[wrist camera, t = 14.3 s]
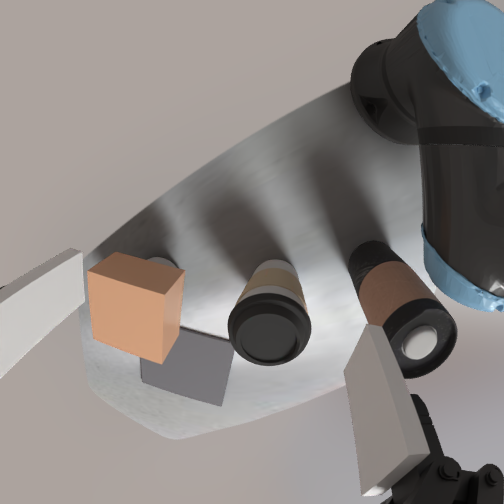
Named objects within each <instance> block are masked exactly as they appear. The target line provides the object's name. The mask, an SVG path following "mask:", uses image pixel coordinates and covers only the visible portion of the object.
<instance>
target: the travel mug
mask: <svg viewBox="0 0 504 504" xmlns="http://www.w3.org/2000/svg"><path fill="white" fill-rule="evenodd" d="M349 273H350V276H351V279H352V282H353V285H354V287H355V290H356V293H357V296H358V299H359V302H360V304H361V307H362V309H363V311H364V314H365V316H366V319H367V321H368V323H369V324H371V325H376V326H381V327H382V328H383V330H384V332H385V335H386V337H387V339H388V341H389V344H390V346H391V348H392V351H393V353H394V355H395V358H396V360H397V363H398V365H399V368H400V370H401V372H402V375H403V377H404V379H413V378H417V377H421V376H424V375H426V374H428V373H430V372H432V371H433V370H435V369H436V368H438V367H439V366H440V365H441V364H442V363H443V362H444V361H445V360H446V359H447V358H448V356H449V355H450V354H451V352H452V350H453V348H454V346H455V343H456V340H457V326H456V323H455V321H454V319H453V318H452V316H451V315H450V314H449V312H448V311H447V310H446V309H445V308H444V306H443V305H442V304H441V303H440V301H439V300H438V299H437V298H436V296H435V295H434V294H433V293H432V292H431V290H430V289H429V288H428V287H427V286H426V284H425V283H424V282H423V281H422V280H421V279H420V277H419V276H418V275H417V274H416V273H415V272H414V271H413V270H412V268H411V267H410V266H408V265H407V264H406V263H405V262H404V261H403V260H402V259H401V258H400V257H399V256H398V255H397V254H396V253H395V252H394V251H393V250H391V249H390V248H389V247H388V246H387V245H385V244H383V243H381V242H377V241H371V242H366V243H364V244H362V245H360V246H359V247H358V248H357V249H356V250H355V251H354V252H353V254H352V255H351V258H350V261H349Z"/></svg>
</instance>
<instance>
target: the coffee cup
mask: <svg viewBox="0 0 504 504" xmlns="http://www.w3.org/2000/svg"><path fill="white" fill-rule="evenodd" d="M228 333H229V339H230V342H231V344H232V346H233V348H234V349H235V351H236V352H237V353H238V354H239V355H240V356H241V357H243V358H244V359H246V360H247V361H249V362H252V363H254V364H258V365H263V366H275V365H280V364H284V363H287V362H289V361H291V360H293V359H294V358H296V357H297V356H298V355H299V354H300V353H301V352H302V351H303V350H304V348H305V347H306V345H307V343H308V341H309V338H310V335H311V321H310V318H309V316H308V311H307V307H306V303H305V299H304V295H303V291H302V287H301V284H300V282H299V278H298V274H297V272H296V270H295V269H294V267H293V266H292V265H290V264H289V263H287V262H285V261H283V260H277V259H273V260H268V261H265V262H263V263H262V264H260V265H259V266H258V267H257V268H256V270H255V271H254V273H253V275H252V277H251V278H250V280H249V281H248V283H247V285H246V286H245V288H244V290H243V292H242V294H241V295H240V297H239V299H238V301H237V303H236V305H235V307H234V308H233V310H232V311H231V313H230V316H229V319H228Z"/></svg>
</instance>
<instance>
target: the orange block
mask: <svg viewBox="0 0 504 504" xmlns="http://www.w3.org/2000/svg"><path fill="white" fill-rule="evenodd" d="M87 273H88V290H89V303H90V313H91V323H92V331H93V339H95V340H97V341H100V342H102V343H105V344H107V345H110V346H112V347H115V348H117V349H120V350H122V351H125V352H128V353H130V354H133V355H136V356H139V357H141V358H144V359H147V360H150V361H153V362H156V363H159V364H163V362H164V360H165V358H166V356H167V355H168V353H169V351H170V349H171V348H172V346H173V344H174V343H175V341H176V339H177V337H178V336H179V328H180V317H181V306H182V296H183V286H184V277H185V270H182V269H178V268H175V267H171V266H167V265H163V264H159V263H156V262H152V261H148V260H144V259H141V258H137V257H133V256H130V255H126V254H123V253H119V252H114V253H113V254H111V255H110V256H108V257H107V258H105V259H104V260H102V261H101V262H99V263H98V264H96V265H95V266H94V267H92V268H91V269H89V270H88V271H87Z"/></svg>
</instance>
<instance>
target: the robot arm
mask: <svg viewBox="0 0 504 504" xmlns="http://www.w3.org/2000/svg"><path fill="white" fill-rule="evenodd" d="M350 83H351V93H352V97H353V100H354V103H355V105H356V108H357V110H358V111H359V113H360V115H361V116H362V118H363V119H364V120H365V122H366V123H367V124H368V125H369V126H370V127H371V128H372V129H373V130H374V131H375V132H376V133H378V134H379V135H381V136H382V137H384V138H386V139H387V140H390V141H392V142H395V143H398V144H403V145H419V151H420V162H421V177H422V200H423V222H422V225H421V233H422V237H423V241H424V265H425V269H426V271H427V273H428V274H429V276H430V278H431V280H432V282H433V283H434V284H435V285H436V286H437V287H438V288H439V289H440V290H441V291H442V292H443V293H444V294H446V295H447V296H449V297H450V298H451V299H453V300H455V301H457V302H458V303H460V304H463V305H465V306H467V307H470V308H474V309H476V310H480V311H487V312H493V311H494V310H495V309H497V310H498V311H500V312H504V13H503V12H502V11H501V10H500V9H498V8H497V7H496V6H494V5H492V4H491V3H489V2H487V1H485V0H435V1H434V2H433V3H431V4H428V5H426V6H424V7H423V8H422V10H420V12H419V13H418V14H417V15H416V16H415V17H414V18H413V20H411V22H410V23H409V24H408V25H407V26H406V27H405V28H404V29H403V30H402V31H401V32H400V33H399V34H398V36H397V37H396V38H394V39H385V40H381V41H378V42H376V43H374V44H372V45H370V46H369V47H368V48H366V49H365V50H364V51H363V52H362V53H361V55H360V56H359V57H358V59H357V60H356V62H355V64H354V66H353V69H352V73H351V81H350ZM453 144H463V145H453ZM481 145H484V146H481ZM497 146H498V147H497ZM84 302H85V297H84V283H83V264H82V251H78V250H75V249H73V248H70V249H68V250H66V251H64V252H62V253H60V254H59V255H57V256H55V257H53V258H52V259H50V260H48V261H46V262H45V263H43V264H41V265H39V266H38V267H36V268H34V269H33V270H31V271H29V272H28V273H26V274H24V275H23V276H21V277H19V278H18V279H16V280H14V281H13V282H11V283H10V284H8V285H6V286H3V287H1V288H0V379H1V378H2V377H3V376H4V375H5V374H6V373H7V372H8V371H9V370H10V369H11V368H12V367H13V366H14V365H15V364H16V363H17V362H18V361H19V360H20V359H21V358H22V357H23V356H24V355H25V354H26V353H27V352H28V351H29V350H31V349H32V348H33V347H34V346H35V345H36V344H37V343H38V342H39V341H40V340H41V339H43V338H44V337H45V336H46V335H47V334H48V333H49V332H50V331H51V330H52V329H54V328H55V327H56V326H57V325H58V324H59V323H60V322H61V321H63V320H64V319H65V318H66V317H67V316H68V315H69V314H71V313H72V312H73V311H74V310H75V309H76V308H78V307H79V306H80V305H81V304H82V303H84ZM344 376H345V381H346V387H347V393H348V398H349V404H350V411H351V417H352V423H353V430H354V437H355V444H356V452H357V459H358V468H359V476H360V485H361V496H373V495H382V494H383V493H385V492H386V491H387V490H389V489H390V488H391V489H392V496H391V497H389V498H388V499H386V500H385V501H384V502H382V503H381V504H503V500H504V477H503V474H502V472H501V470H500V469H499V468H498V467H497V466H495V465H493V464H486V465H484V466H483V467H482V468H481V469H480V470H478V471H477V472H472V471H465V470H461V467H460V465H459V464H458V462H456V461H455V460H454V459H453V458H450V457H447V456H444V454H443V451H442V448H441V445H440V442H439V439H438V436H437V434H436V431H435V428H434V425H432V420H431V418H430V417H429V413H428V410H427V407H426V405H425V403H424V402H423V401H422V400H421V398H420V397H419V396H418V395H417V394H410V393H409V390H408V388H407V385H406V383H405V380H404V377H403V375H402V372H401V370H400V368H399V365H398V363H397V360H396V358H395V355H394V353H393V351H392V348H391V346H390V344H389V341H388V339H387V337H386V335H385V332H384V330H383V328H382V327H381V326H376V325H371V324H366V326H365V328H364V331H363V333H362V335H361V337H360V339H359V341H358V343H357V345H356V347H355V350H354V352H353V354H352V356H351V358H350V360H349V362H348V364H347V365H346V367H345V369H344Z"/></svg>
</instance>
